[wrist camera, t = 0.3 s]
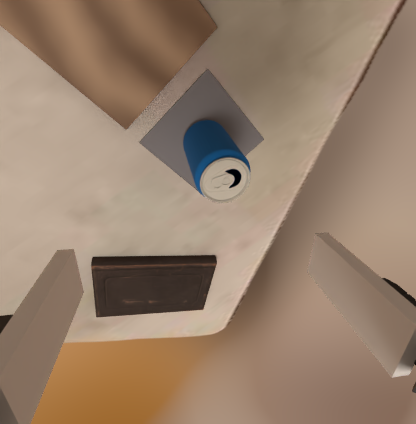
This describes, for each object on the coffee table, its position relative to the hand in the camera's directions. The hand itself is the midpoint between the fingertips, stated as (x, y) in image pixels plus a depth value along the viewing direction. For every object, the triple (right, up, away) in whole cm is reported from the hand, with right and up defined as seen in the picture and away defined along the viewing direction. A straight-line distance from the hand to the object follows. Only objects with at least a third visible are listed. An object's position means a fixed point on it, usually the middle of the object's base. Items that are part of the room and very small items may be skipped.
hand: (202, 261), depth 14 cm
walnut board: (-10, +23, +13) cm, 28 cm away
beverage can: (0, +13, +23) cm, 27 cm away
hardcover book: (-11, -12, +40) cm, 43 cm away
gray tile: (0, +13, +23) cm, 27 cm away
